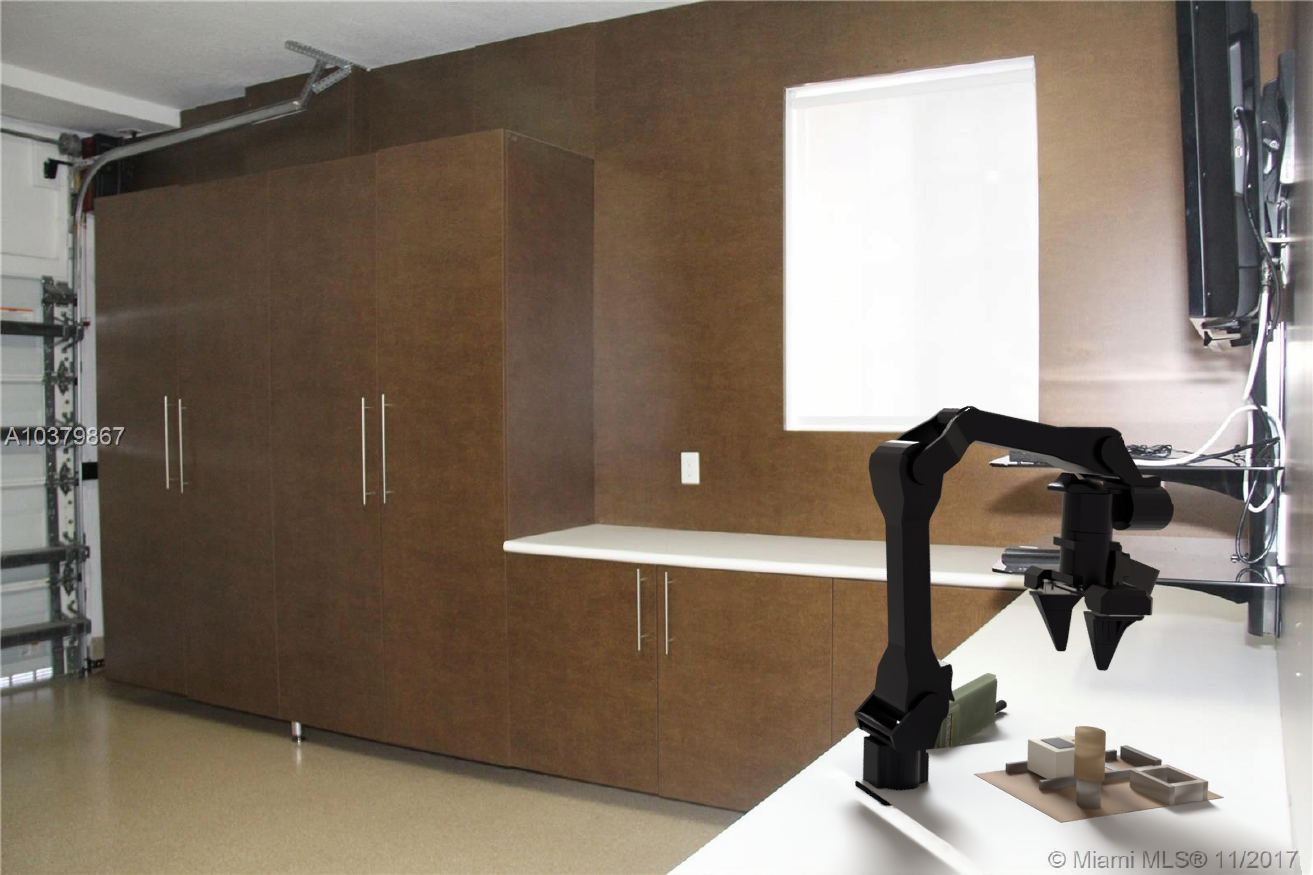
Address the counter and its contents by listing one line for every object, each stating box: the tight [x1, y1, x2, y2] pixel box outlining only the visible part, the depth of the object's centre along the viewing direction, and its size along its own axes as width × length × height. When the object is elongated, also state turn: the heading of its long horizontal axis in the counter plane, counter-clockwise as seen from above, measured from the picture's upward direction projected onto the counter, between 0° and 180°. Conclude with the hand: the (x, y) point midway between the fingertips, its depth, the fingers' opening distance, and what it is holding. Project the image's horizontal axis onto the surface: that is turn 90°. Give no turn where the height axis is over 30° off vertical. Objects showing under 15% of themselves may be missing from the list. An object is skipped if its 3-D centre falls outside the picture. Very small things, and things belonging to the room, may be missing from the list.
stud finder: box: [1026, 733, 1075, 779], centre depth 114 cm, size 6×5×4 cm
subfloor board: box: [973, 744, 1224, 823], centre depth 111 cm, size 22×14×4 cm, turn 109°
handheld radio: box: [929, 672, 1008, 750], centre depth 134 cm, size 7×3×25 cm
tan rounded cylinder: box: [1074, 725, 1107, 810], centre depth 106 cm, size 3×3×8 cm
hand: (1080, 660), depth 119 cm, fingers open, 9 cm apart
